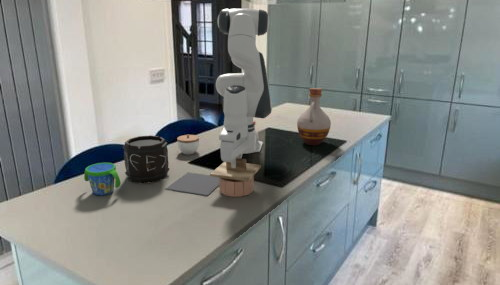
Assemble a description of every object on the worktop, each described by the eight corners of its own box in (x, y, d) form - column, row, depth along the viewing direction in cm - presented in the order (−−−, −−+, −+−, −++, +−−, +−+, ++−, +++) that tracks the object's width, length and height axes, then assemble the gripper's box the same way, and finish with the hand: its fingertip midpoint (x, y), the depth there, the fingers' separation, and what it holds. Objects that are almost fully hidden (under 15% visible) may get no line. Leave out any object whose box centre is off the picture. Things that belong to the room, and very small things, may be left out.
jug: (326, 150, 191) (330, 92, 182) (292, 147, 196) (294, 90, 187) (331, 140, 208) (335, 86, 199) (299, 137, 214) (302, 84, 205)
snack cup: (128, 191, 143) (126, 166, 140) (106, 201, 134) (103, 175, 131) (101, 183, 150) (98, 159, 147) (78, 192, 141) (74, 167, 138)
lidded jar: (195, 156, 181) (194, 138, 179) (174, 155, 183) (173, 136, 181) (202, 149, 191) (201, 132, 189) (182, 148, 193) (181, 131, 191)
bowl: (227, 181, 152) (227, 167, 151) (257, 185, 148) (257, 171, 146) (214, 193, 141) (213, 179, 139) (246, 199, 136) (246, 183, 135)
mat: (187, 173, 161) (187, 172, 161) (226, 178, 155) (226, 177, 155) (165, 189, 144) (165, 188, 144) (207, 196, 139) (207, 195, 139)
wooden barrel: (124, 187, 146) (120, 149, 142) (126, 171, 163) (123, 136, 158) (171, 182, 151) (168, 145, 146) (168, 167, 168) (166, 133, 163)
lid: (225, 162, 151) (225, 151, 150) (261, 167, 147) (261, 155, 145) (210, 176, 138) (209, 163, 136) (248, 181, 133) (248, 168, 132)
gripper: (238, 123, 148) (238, 156, 152) (216, 136, 129) (217, 173, 133) (253, 124, 146) (252, 157, 150) (233, 138, 127) (234, 176, 131)
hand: (236, 165), depth 142 cm, fingers closed on lid, 3 cm apart
